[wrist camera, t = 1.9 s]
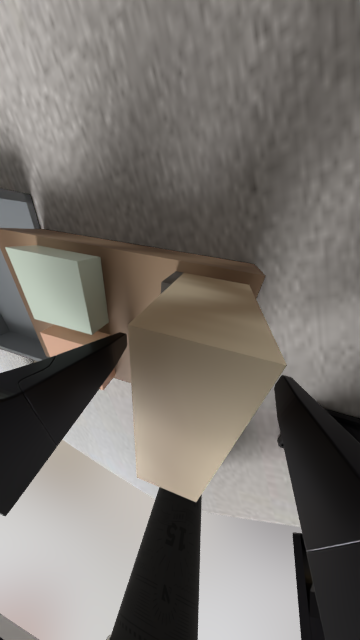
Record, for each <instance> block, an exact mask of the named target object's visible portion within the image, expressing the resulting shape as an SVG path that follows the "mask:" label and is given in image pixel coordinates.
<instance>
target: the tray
mask: <svg viewBox="0 0 360 640" xmlns="http://www.w3.org/2000/svg"><path fill="white" fill-rule="evenodd" d="M0 228H23V229H40V227H39V223H38V220H37V217H36V213H35V210H34V206H33V203H32V199H31V196H30V194H26V193H21V192H16V191H11V190H6V189H1V188H0ZM0 349H2V350H5V351H8V352H11V353H14V354H17V355H20V356H23V357H26V358H29V359H32V360H35V361H41V360H44V359H47V358H49V357H47V356H46V355H45V352H44V350H43V348H42V345H41V343H40V341H39V338H38V336H37V333H36V331H35V329H34V326H33V324H32V322H31V319H30V317H29V315H28V312H27V310H26V308H25V305H24V303H23V301H22V298H21V296H20V294H19V291H18V289H17V287H16V284H15V282H14V280H13V277H12V275H11V273H10V270H9V268H8V266H7V263H6V261H5V258H4V256H3V254H2V251H1V249H0Z"/></svg>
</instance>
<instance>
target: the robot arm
mask: <svg viewBox="0 0 360 640" xmlns="http://www.w3.org/2000/svg"><path fill="white" fill-rule="evenodd" d="M126 347H127V334H126V333H122V332H118V333H116V334H113V335H110V336H107V337H105V338H102V339H99V340H96V341H94V342H91V343H88V344H85V345H83V346H80V347H77V348H74V349H72V350H69V351H66V352H63V353H60V354H58V355H57V356H56V355H55V356H52V357H49V358H47V359H44V360H41V361H38V362H35V363H32V364H29V365H26V366H23V367H19V368H16V369H13V370H9V371H6V372H3V373H0V514H1V515H3V516H6V515H7V514H8V512H9V511H10V510H11V509H12V507H13V506H14V505H15V503H16V502H17V501H18V499H19V497H20V496H21V495H22V494H23V492H24V491H25V490H26V488H27V487H28V486H29V484H30V483H31V481H32V480H33V479H34V477H35V476H36V474H37V473H38V472H39V471H40V469H41V468H42V466H43V465H44V463H45V462H46V461H47V460H48V458H49V457H50V456H51V454H52V453H53V451H54V450H55V449H56V447H57V446H58V444H59V443H60V442H61V440H62V439H63V438H64V436H65V435H66V434H67V432H68V431H69V429H70V428H71V427H72V425H73V424H74V423H75V421H76V420H77V419H78V417H79V416H80V414H81V413H82V412H83V410H84V409H85V408H86V406H87V405H88V404H89V402H90V401H91V399H92V398H93V397H94V395H95V394H96V393H97V391H98V390H99V389H100V387H101V386H102V384H103V383H104V382H105V380H106V379H107V378H108V376H109V375H110V374H111V372H112V371H113V369H114V368H115V366H116V365H117V363H118V361H119V360H120V358H121V356H122V354H123V353H124V351H125V349H126ZM274 390H275V400H276V409H277V418H278V423H279V428H280V432H281V436H280V437H279V438H278V440H277V441H278V445H279V446H280V447H281V448H284V451H285V455H286V460H287V465H288V469H289V474H290V478H291V483H292V488H293V492H294V497H295V501H296V506H297V511H298V515H299V520H300V525H301V529H302V533H293V544H294V556H295V568H296V580H297V592H298V604H299V617H300V628H301V640H360V419H358V418H354V417H351V416H347V415H344V414H340V413H337V412H333V411H330V410H326V409H324V408H323V407H321V406H320V405H319V404H318V403H317V402H316V401H315V400H314V399H313V398H312V397H311V396H310V395H309V394H308V393H307V392H306V391H305V390H304V389H303V388H302V387H301V386H300V385H299V384H298V383H297V382H296V381H295V380H294V379H293V378H291V377H288V376H284V375H282V376H281V377H280V378H279V380H278V381H277V383H276V384H275V388H274ZM0 640H39V639H37V638H36V637H34V636H33V635H31V634H30V633H28V632H27V631H25V630H24V629H22V628H21V627H19V626H17V625H16V624H15V623H13V622H12V621H10V620H9V619H7V618H6V617H4V616H3V615H1V614H0Z"/></svg>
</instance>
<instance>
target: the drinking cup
mask: <svg viewBox="0 0 360 640" xmlns="http://www.w3.org/2000/svg"><path fill="white" fill-rule="evenodd" d="M201 496H202V494H201ZM201 496H200V497H199V499H198V500H197V502H194V501H192V500H189V499H187V498H185V497H182V496H180V495H178V494H175V493H173V492H170V491H168V490H166V489H163V488H161V487H159V490H158V494H157V497H156V500H155V503H154V506H153V509H152V512H151V515H150V518H149V521H148V524H147V527H146V531H145V533H144V536H143V539H142V543H141V545H140V549H139V552H138V555H137V558H136V561H135V564H134V567H133V570H132V573H131V576H130V579H129V582H128V585H127V588H126V591H125V594H124V597H123V601H122V604H121V607H120V610H119V613H118V616H117V619H116V622H115V625H114V628H113V631H112V634H111V635H109V636H108V637H107V639H106V640H197V639H198V604H199V603H198V602H199V568H200V531H201Z"/></svg>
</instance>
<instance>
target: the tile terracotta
mask: <svg viewBox="0 0 360 640" xmlns="http://www.w3.org/2000/svg"><path fill="white" fill-rule="evenodd" d="M40 334H41V336H42V338H43V341H44V343H45V346H46V348H47V351H48V353H49V355H50V357H52V356H55V355H56V356H57V355H58V354H60V353H63V352H66V351H69V350H72V349H74V348H77V347H80V346H83V345H85V344H88V343H91V342H94V341H96V340H99V339H102V338H105V337H107V336H110V334H106V333H102V332H99V331H97V332H95V333H94V334H93V335H90V334H87V333H83V332H80V331H76V330H72V329H69V328H65V327H62V326H58V325H53V326H51V327H49V328H47V329H45V330H44V331H42V332H40ZM115 375H116V373H115V368H114V369H113V371H112V372H111V374H110V375H109V376H108V378H107V379H106V380H105V382H104V383H103V384H102V386H101V387H100V389H101V390H104V389H105V387H106V386H107V385H108V384H109V382H110V381H111V380H112V379H113V377H114V376H115Z"/></svg>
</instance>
